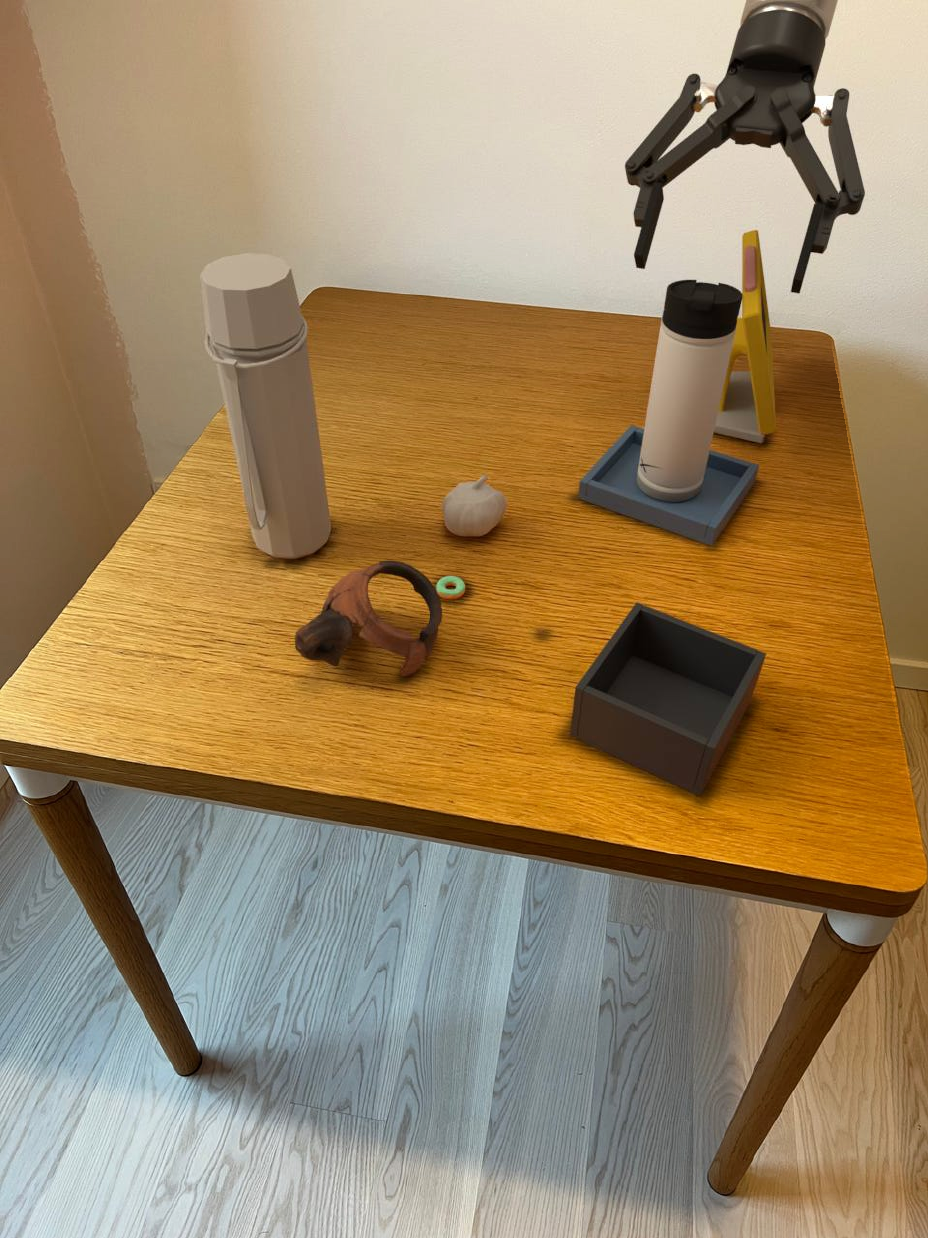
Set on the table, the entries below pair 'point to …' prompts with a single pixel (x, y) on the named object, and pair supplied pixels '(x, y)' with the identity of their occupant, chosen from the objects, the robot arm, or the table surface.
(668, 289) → the travel mug
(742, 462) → the tray
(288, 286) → the water bottle
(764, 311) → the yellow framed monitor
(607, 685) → the dark grey open box
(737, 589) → the table surface
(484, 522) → the garlic
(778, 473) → the table surface
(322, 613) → the animal head ring
